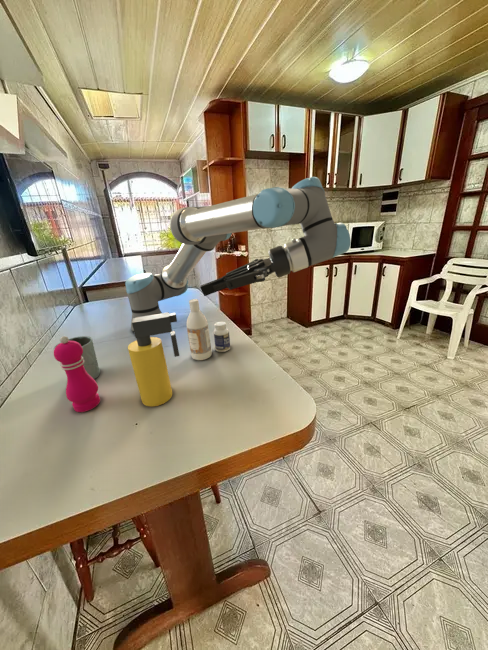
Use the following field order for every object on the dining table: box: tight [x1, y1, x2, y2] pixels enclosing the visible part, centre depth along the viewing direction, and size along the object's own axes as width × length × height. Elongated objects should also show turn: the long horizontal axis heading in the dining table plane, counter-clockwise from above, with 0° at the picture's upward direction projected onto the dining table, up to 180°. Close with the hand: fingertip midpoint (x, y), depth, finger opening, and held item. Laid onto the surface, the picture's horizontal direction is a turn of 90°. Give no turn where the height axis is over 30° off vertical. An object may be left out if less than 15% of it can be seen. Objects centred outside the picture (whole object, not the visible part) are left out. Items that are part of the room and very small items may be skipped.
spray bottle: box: [127, 311, 178, 407], centre depth 68 cm, size 8×13×22 cm, turn 107°
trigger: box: [169, 330, 180, 358], centre depth 68 cm, size 3×1×6 cm, turn 17°
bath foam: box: [186, 298, 213, 361], centre depth 88 cm, size 7×7×20 cm
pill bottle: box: [213, 321, 231, 353], centre depth 94 cm, size 5×5×10 cm
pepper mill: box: [53, 335, 101, 413], centre depth 67 cm, size 7×7×20 cm
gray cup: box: [53, 335, 101, 380], centre depth 82 cm, size 10×10×12 cm
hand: (202, 290), depth 71 cm, fingers closed
